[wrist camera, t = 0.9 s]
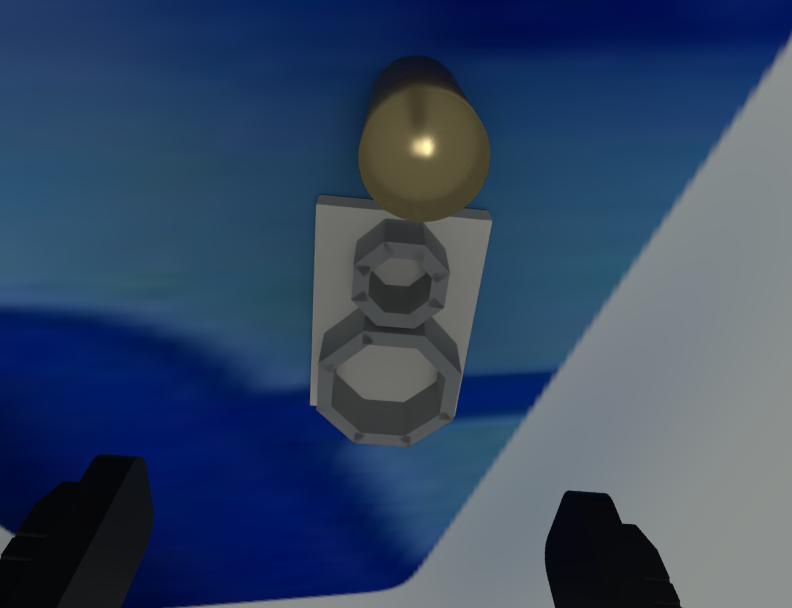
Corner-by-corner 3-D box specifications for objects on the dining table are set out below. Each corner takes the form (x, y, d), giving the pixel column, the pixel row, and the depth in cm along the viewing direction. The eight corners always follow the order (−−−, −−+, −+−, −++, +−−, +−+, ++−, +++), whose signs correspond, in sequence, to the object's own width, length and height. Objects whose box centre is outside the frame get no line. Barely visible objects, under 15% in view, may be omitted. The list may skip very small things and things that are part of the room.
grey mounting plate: (319, 194, 30) (307, 226, 26) (488, 210, 30) (501, 244, 26) (313, 390, 36) (303, 439, 32) (452, 400, 37) (459, 450, 33)
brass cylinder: (373, 50, 26) (363, 83, 18) (467, 60, 27) (501, 97, 18) (367, 145, 29) (354, 215, 20) (453, 154, 29) (478, 227, 20)
